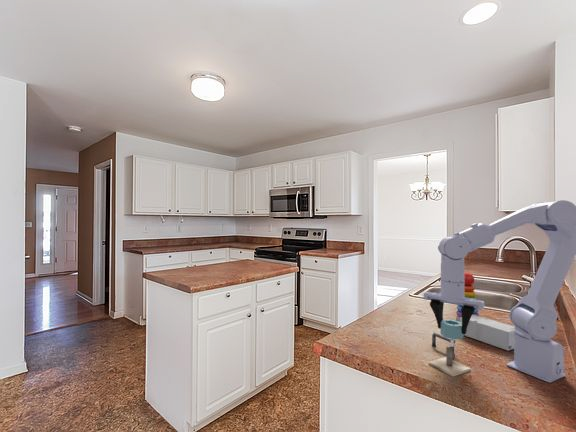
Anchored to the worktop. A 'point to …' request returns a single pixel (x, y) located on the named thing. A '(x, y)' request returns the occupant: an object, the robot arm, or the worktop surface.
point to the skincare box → (491, 332)
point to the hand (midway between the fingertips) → (452, 330)
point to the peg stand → (449, 364)
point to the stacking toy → (467, 294)
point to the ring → (451, 329)
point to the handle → (443, 339)
